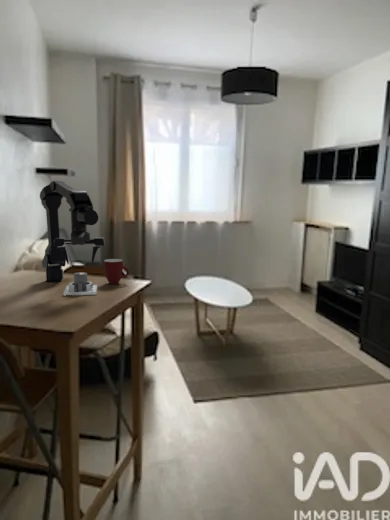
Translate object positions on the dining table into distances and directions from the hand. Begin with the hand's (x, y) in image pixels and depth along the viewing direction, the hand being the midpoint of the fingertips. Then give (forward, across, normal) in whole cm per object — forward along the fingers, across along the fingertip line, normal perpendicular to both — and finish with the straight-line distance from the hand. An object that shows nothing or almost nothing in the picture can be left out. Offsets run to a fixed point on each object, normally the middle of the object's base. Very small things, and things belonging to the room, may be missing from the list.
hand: (80, 263), depth 157 cm
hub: (+11, 0, 0) cm, 11 cm away
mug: (+11, +14, +13) cm, 22 cm away
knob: (+10, 0, 0) cm, 10 cm away
